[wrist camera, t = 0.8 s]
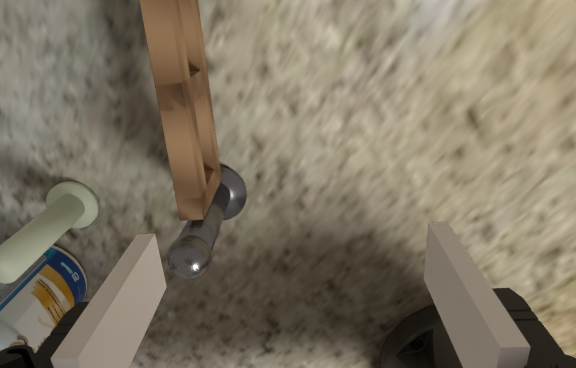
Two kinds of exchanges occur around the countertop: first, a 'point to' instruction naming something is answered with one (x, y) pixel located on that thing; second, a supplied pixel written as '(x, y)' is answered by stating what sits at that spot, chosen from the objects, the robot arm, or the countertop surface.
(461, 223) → the countertop surface
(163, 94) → the gate
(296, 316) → the countertop surface
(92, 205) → the post
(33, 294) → the beverage bottle
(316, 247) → the countertop surface
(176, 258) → the hinge post
